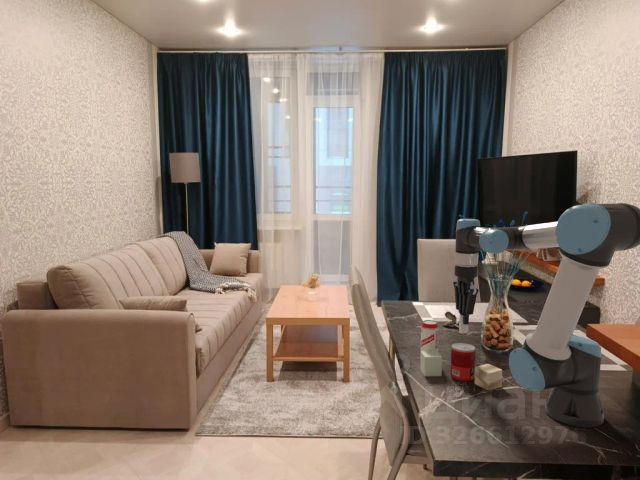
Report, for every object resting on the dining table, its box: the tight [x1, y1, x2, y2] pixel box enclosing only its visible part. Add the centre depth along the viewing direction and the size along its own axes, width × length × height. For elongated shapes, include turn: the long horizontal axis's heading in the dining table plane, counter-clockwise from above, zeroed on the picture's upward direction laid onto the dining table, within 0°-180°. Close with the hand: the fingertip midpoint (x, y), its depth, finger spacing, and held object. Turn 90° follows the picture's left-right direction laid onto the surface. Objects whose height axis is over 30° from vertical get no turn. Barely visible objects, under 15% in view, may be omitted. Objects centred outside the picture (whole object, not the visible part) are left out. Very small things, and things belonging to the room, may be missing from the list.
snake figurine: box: [441, 311, 459, 327], centre depth 227 cm, size 8×7×9 cm
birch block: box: [474, 363, 503, 392], centre depth 162 cm, size 6×6×6 cm
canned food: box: [450, 342, 476, 382], centre depth 168 cm, size 8×8×11 cm
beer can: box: [419, 319, 440, 361], centre depth 180 cm, size 6×6×16 cm
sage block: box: [419, 350, 443, 377], centre depth 172 cm, size 6×6×7 cm
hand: (463, 332), depth 167 cm, fingers closed
